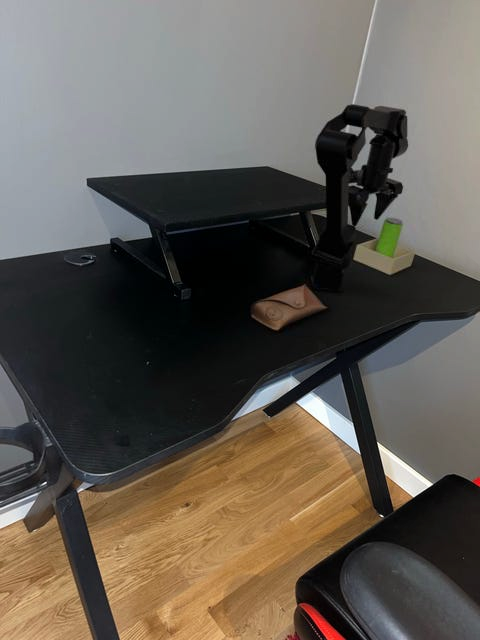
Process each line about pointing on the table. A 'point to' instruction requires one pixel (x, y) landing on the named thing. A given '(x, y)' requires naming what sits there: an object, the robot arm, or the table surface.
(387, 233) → the drink can
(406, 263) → the tote
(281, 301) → the sunglasses case
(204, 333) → the table surface
